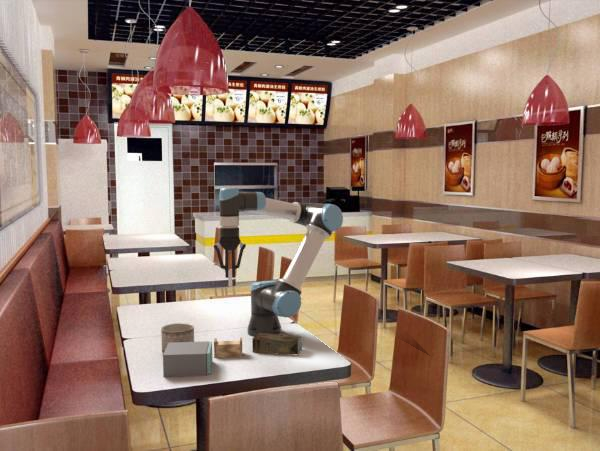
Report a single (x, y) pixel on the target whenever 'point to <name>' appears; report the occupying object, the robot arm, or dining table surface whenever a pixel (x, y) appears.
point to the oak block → (227, 348)
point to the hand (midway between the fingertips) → (230, 285)
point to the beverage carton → (277, 343)
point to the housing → (185, 359)
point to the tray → (209, 358)
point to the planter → (176, 334)
